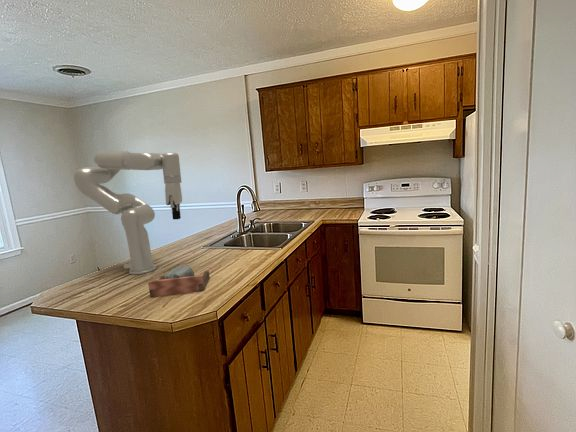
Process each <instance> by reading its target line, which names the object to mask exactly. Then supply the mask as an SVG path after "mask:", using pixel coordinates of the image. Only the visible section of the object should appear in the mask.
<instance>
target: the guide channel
mask: <svg viewBox="0 0 576 432" xmlns="http://www.w3.org/2000/svg"><path fill="white" fill-rule="evenodd" d="M165 276H166V275H162V276H160V277H159V278H158V279H156V280H155V279H154V280H149V281H148V282H147V284H148V289H149V295H150V296H149V297H150V298H155V297H162V296H163V297H164V296H171V295H180V294H188V293H197V292H204V291H205V289H206V286H207V285H208V284H207V283H208V282H209V280H210V278H211V277H210V276H211V275H210V272H209V270H207V271H204V273H203V274H199V275H197V274H196V275H194V276H188V277H179V278H171V279H164V278H165Z"/></svg>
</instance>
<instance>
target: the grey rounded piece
mask: <svg viewBox="0 0 576 432" xmlns="http://www.w3.org/2000/svg"><path fill="white" fill-rule="evenodd" d="M164 276H165V278H164V279H171V278H179V277H188V276H195V272H194V270H193V268H192V267H191V266H189V265H187V264H182V265H179V266H177V267H175V268H173V269H171V270H170V271H169V272H168V273H166V274H165V275H164Z"/></svg>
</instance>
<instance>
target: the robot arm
mask: <svg viewBox="0 0 576 432" xmlns="http://www.w3.org/2000/svg"><path fill="white" fill-rule="evenodd" d="M93 162H94V164H95V165H96V166H85V167H81V168H78V169H77V170H76V171H75V172H74V175H73V180H74V184H75V186H76V188H77V189H78V191H79V192H80V193H81V194H83V195H84V196H85V197H87V198H89V199H90V200H92V201H93V202H95V203H96V204H98V205H99V206H100V207H102V208H103V209H105V210H106V211H108V213H111V214H113V215H120V221H121V225H122V227H123V230H124V232H125V236H126V242H127V246H128V247H127V248H128V252H129V258H130V263H124V264H123V269H124V270H126V269H129V272H128V273H129V274H130V275H143V274H147V273H150V272H153V271H155V270H156V269H157V267H158V266H157V264H155V263H154V262H153V256H152V252H151V251H152V250H151V245H150V244H151V243H150V238H149V234H148V231H147V229H146V226H145V225H146V224H149V223H151V222H153V221H154V220H155V216H156V214H155V213H156V212H155V210H154V208H152V206H150V205H149V204H148V203H146V202H145V201H143V200H142V199H140V198H139V197H138V196H136V195H134V194H132V193H117V192H116V193H115V192H114V191H112V190H110V189H109V188H108V187H106V186H104V185H103V184H107V183H109V182H110V181H112V180H113V179H114V178H115V176H116V175H118V173H120V171H121V170H125V171H126V170H127V171H129V170H132V171H133V170H135V171H156V170H158V171H159V170H162V172H163V173H162V175H163V182H164V183H163V184H165V185H164V193H165V195H164V196H165V204H166V206H170V208H171V213H172V220H180V219H182V218H181V207H180V205H181V203H182V202H183V194H182V193H183V192H182V188H181V183H182V173H181V165H180V156H179V154H178V153H177V152H165V153H164V152H163V153H159V152H131V151H127V150H126V151H123V150H101V151H98V152H97V153H96V154H95V155H94V158H93ZM101 184H102V185H101Z"/></svg>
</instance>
